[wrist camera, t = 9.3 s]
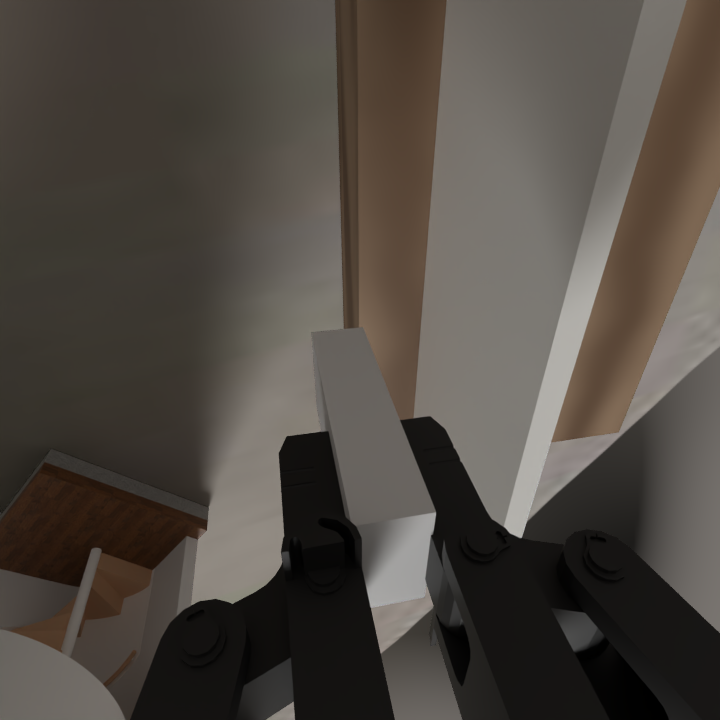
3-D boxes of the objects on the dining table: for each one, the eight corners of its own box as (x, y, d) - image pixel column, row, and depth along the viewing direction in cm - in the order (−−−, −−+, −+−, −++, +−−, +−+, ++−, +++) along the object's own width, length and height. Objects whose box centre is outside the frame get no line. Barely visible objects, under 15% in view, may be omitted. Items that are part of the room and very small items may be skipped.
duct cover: (423, 451, 29) (410, 453, 29) (483, -149, 15) (458, -150, 14) (491, 634, 20) (474, 637, 20) (827, -457, 6) (768, -466, 6)
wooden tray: (346, 418, 33) (359, 471, 29) (331, -148, 18) (356, -206, 13) (576, 388, 36) (618, 432, 32) (741, -124, 20) (864, -165, 16)
